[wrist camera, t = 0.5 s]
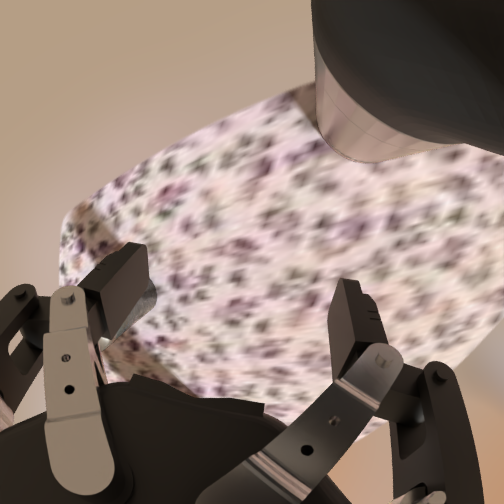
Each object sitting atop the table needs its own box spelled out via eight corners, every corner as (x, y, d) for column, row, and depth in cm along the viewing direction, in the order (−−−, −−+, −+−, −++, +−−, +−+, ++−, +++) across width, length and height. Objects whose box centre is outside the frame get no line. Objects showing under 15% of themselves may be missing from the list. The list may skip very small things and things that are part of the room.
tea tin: (125, 261, 34) (69, 288, 24) (162, 283, 33) (112, 320, 24) (116, 298, 35) (65, 331, 26) (151, 320, 35) (105, 361, 25)
